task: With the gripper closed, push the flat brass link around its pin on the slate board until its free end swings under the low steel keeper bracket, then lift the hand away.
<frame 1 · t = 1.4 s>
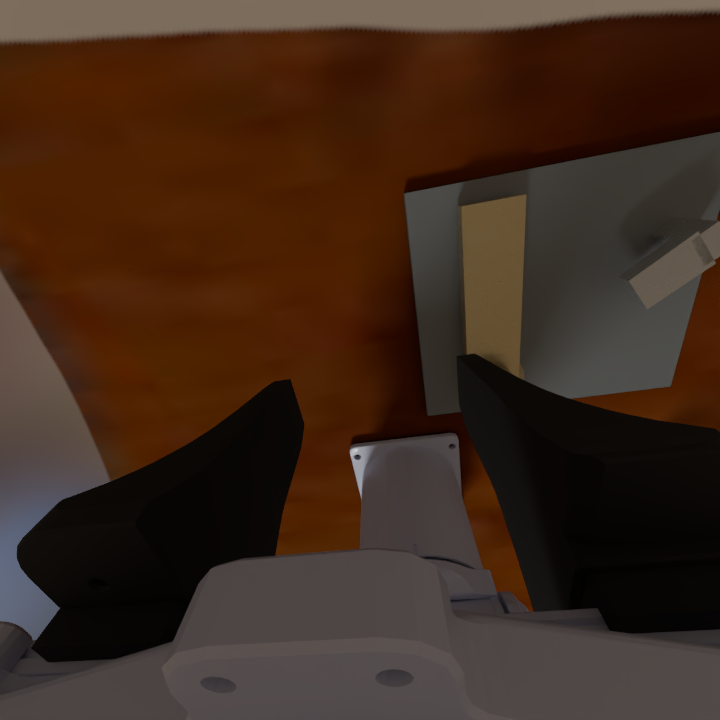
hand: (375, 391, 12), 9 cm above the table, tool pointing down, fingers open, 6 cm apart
steel keeper: (659, 261, 17), on the slate board, point 1 cm above the table
slate board: (548, 298, 20), on the table
brass link: (490, 314, 19), point 1 cm above the table, hinge at 0.0°
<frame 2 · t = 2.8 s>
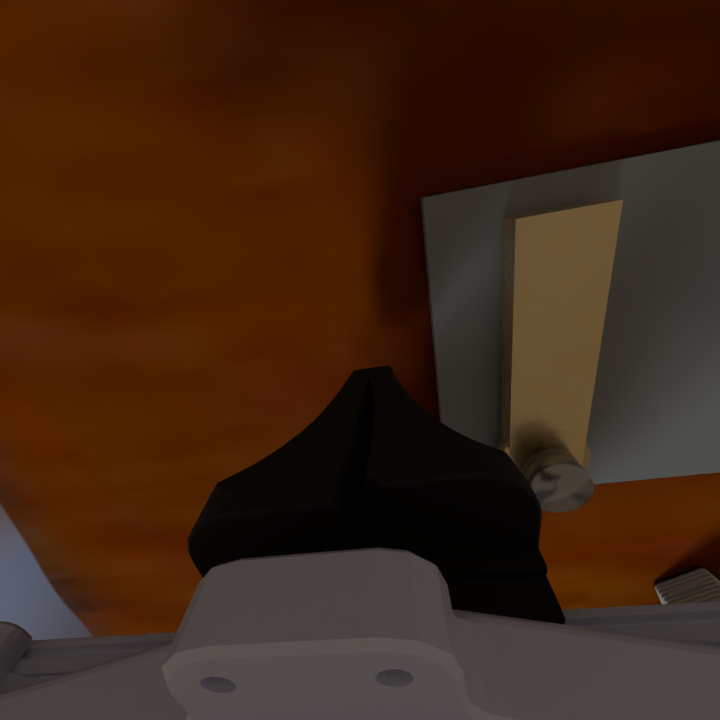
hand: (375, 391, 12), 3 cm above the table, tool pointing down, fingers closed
grey ribbed block: (693, 596, 21), on the table
slate board: (625, 347, 14), on the table
brass link: (546, 374, 13), point 1 cm above the table, hinge at 0.0°
pin cap: (556, 480, 13), point 2 cm above the table
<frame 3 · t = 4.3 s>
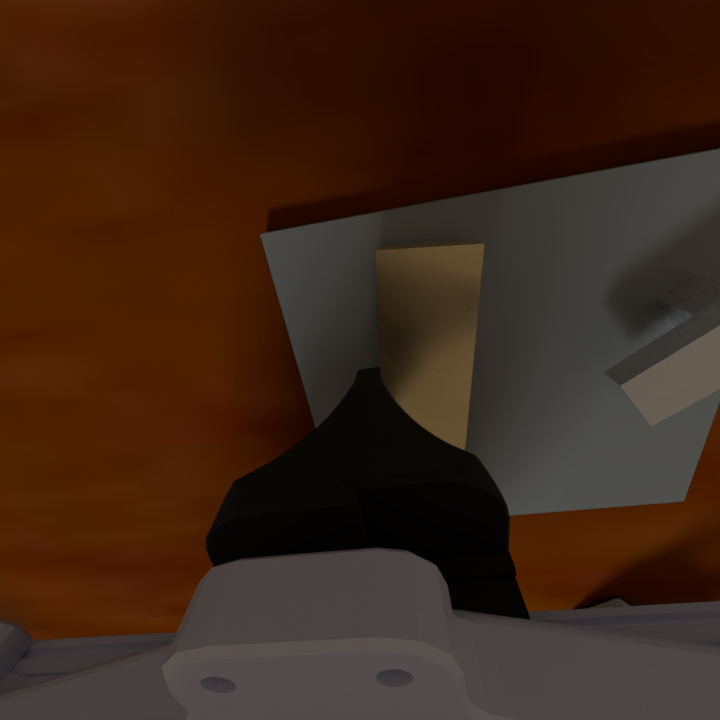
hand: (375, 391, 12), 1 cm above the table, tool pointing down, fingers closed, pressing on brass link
steel keeper: (671, 346, 10), on the slate board, point 1 cm above the table
slate board: (502, 382, 13), on the table
brass link: (423, 411, 12), point 1 cm above the table, hinge at -6.1°, touching gripper
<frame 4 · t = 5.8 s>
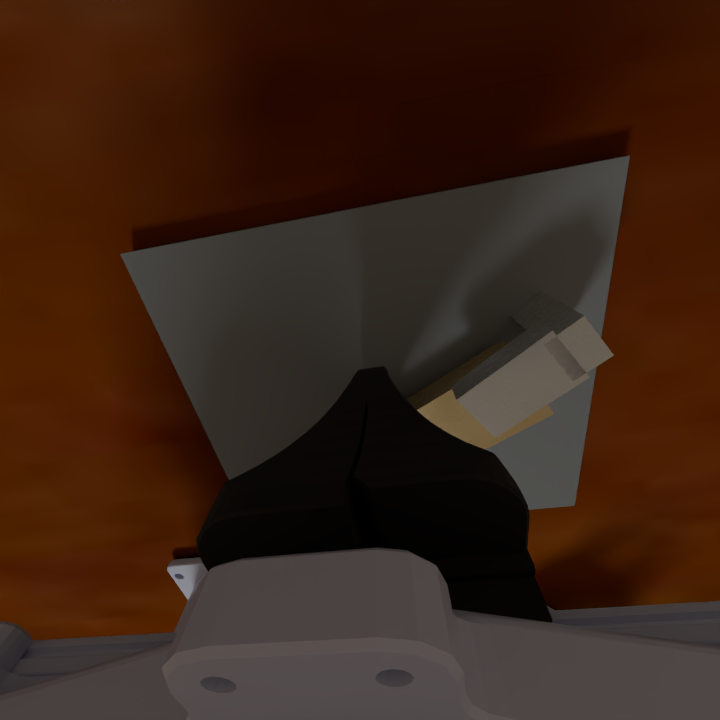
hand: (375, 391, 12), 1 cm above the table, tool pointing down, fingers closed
steel keeper: (516, 361, 11), on the slate board, point 1 cm above the table
slate board: (385, 393, 14), on the table
brass link: (390, 455, 13), point 1 cm above the table, hinge at -61.4°, touching gripper
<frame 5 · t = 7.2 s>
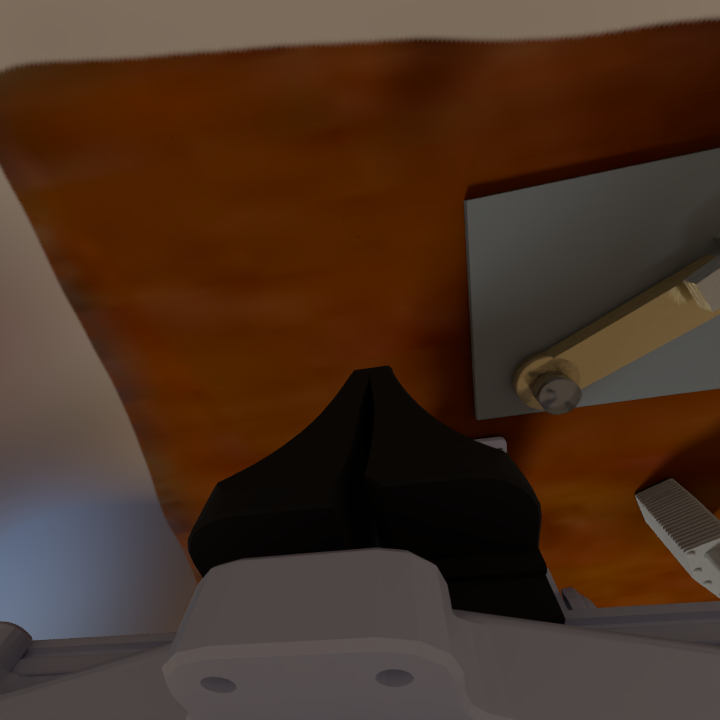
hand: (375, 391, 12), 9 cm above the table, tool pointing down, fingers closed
grey ribbed block: (666, 506, 27), on the table
slate board: (603, 301, 20), on the table
brass link: (611, 342, 19), point 1 cm above the table, hinge at -61.6°
pin cap: (556, 392, 19), point 2 cm above the table
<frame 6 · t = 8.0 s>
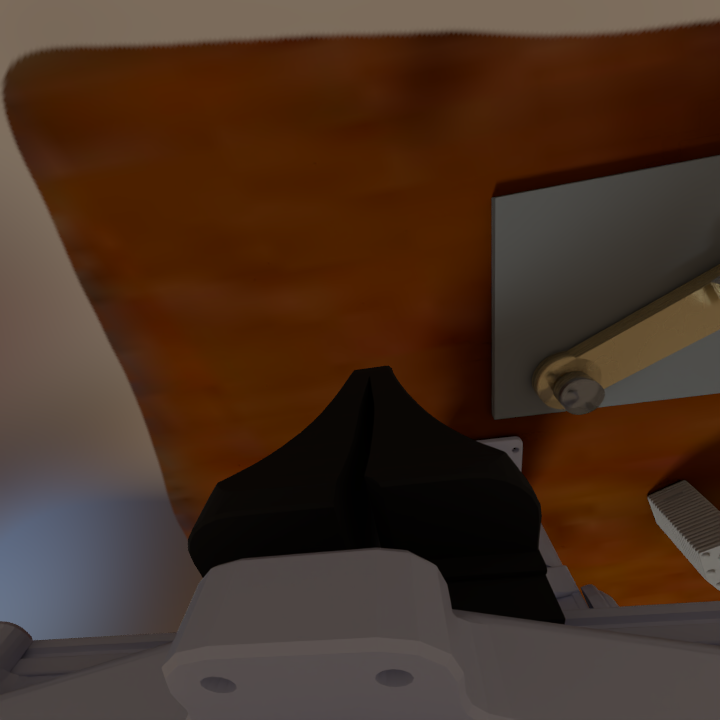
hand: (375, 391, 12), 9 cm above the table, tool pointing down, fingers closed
grey ribbed block: (677, 507, 27), on the table
slate board: (626, 302, 20), on the table
brass link: (634, 343, 19), point 1 cm above the table, hinge at -61.6°
pin cap: (578, 392, 19), point 2 cm above the table
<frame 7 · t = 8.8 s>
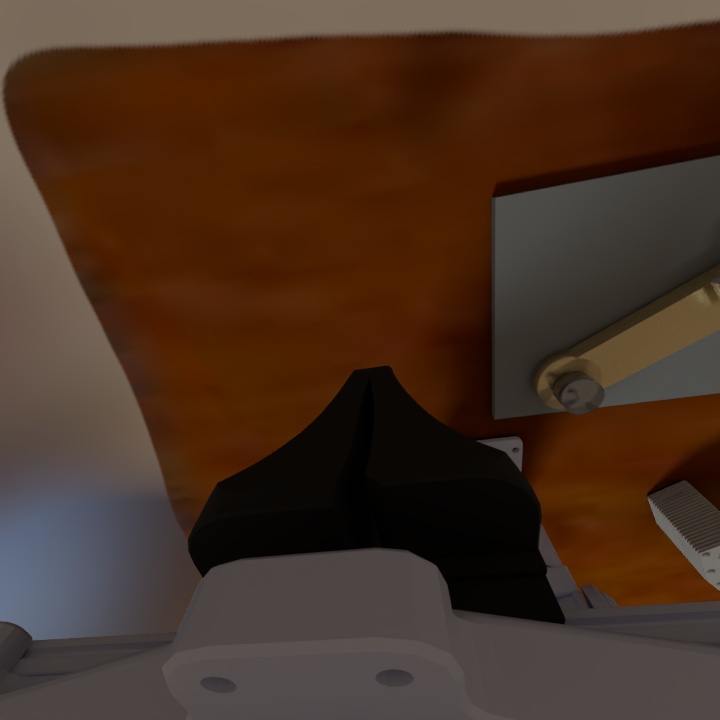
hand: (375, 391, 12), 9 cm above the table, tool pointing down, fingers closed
grey ribbed block: (677, 507, 27), on the table
slate board: (626, 302, 20), on the table
brass link: (634, 343, 19), point 1 cm above the table, hinge at -61.6°
pin cap: (578, 392, 19), point 2 cm above the table
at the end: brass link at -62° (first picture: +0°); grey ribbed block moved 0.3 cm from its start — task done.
